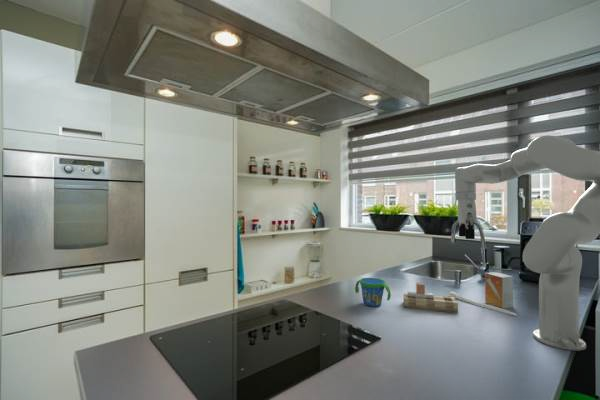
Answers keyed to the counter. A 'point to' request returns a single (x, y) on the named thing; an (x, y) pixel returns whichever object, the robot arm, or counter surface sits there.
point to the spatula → (480, 304)
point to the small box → (499, 289)
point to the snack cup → (372, 291)
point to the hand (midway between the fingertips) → (466, 237)
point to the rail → (432, 303)
